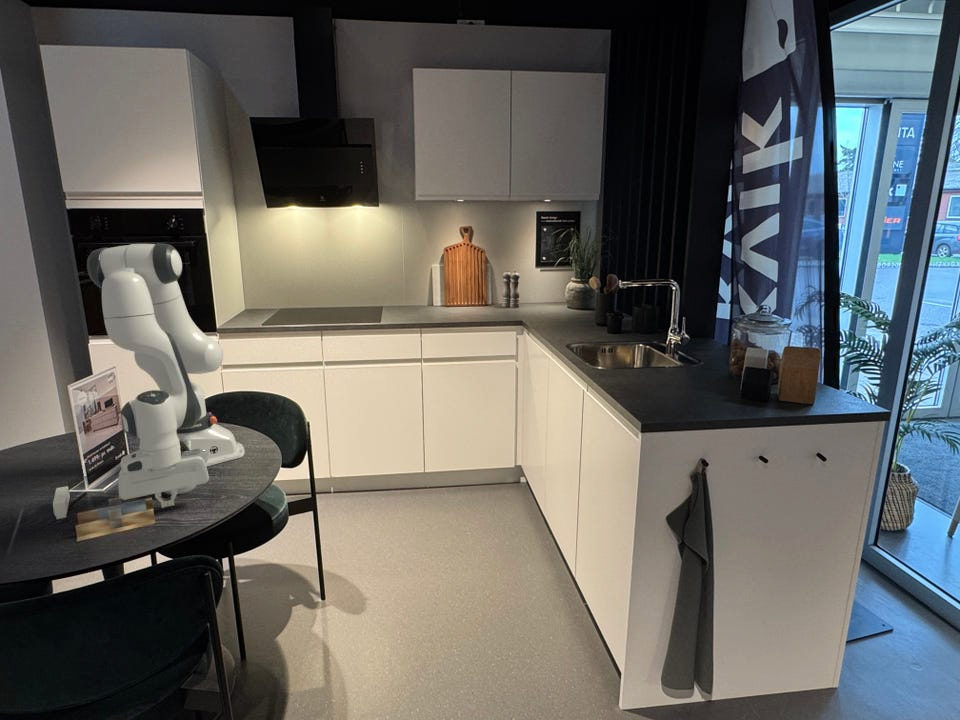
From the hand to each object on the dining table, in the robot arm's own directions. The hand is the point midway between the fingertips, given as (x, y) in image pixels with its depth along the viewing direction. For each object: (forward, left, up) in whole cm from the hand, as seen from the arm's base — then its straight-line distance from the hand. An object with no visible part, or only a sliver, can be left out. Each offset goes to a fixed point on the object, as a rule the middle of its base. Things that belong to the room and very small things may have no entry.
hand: (167, 505), depth 150 cm
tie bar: (+23, -14, 0) cm, 27 cm away
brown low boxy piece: (+15, 0, -2) cm, 15 cm away
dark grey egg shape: (-4, -12, -2) cm, 13 cm away
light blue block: (+10, 0, -1) cm, 10 cm away
